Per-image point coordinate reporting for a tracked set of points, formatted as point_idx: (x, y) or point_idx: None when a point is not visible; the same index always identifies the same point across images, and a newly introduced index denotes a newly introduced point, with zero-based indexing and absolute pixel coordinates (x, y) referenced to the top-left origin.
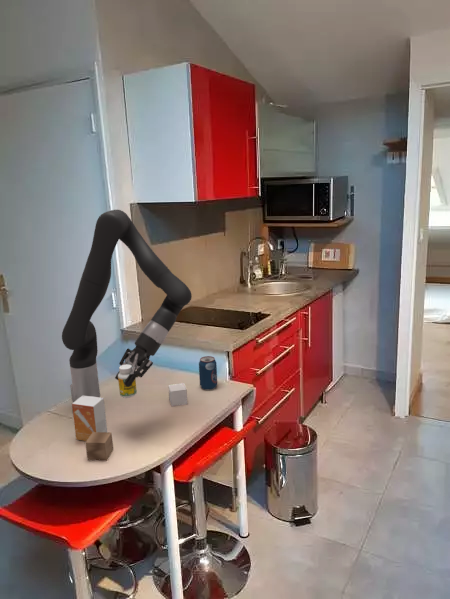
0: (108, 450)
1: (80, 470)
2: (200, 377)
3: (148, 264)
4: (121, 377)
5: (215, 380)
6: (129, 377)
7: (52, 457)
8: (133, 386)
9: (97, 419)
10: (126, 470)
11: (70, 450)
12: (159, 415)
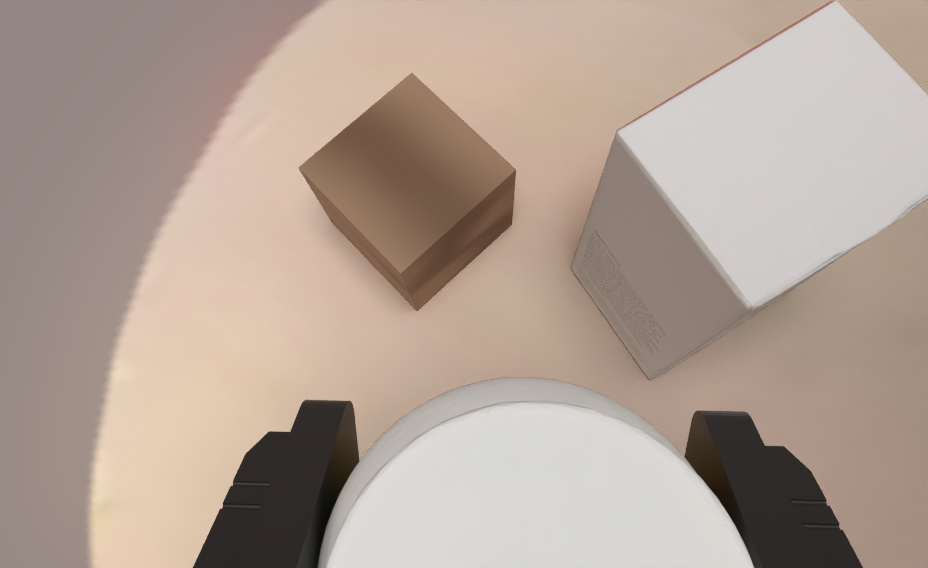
0: (350, 236)
1: (356, 73)
2: None
3: None
4: (437, 400)
5: None
6: (257, 527)
7: (600, 9)
8: None
9: (611, 234)
10: (149, 261)
11: (604, 108)
12: None
